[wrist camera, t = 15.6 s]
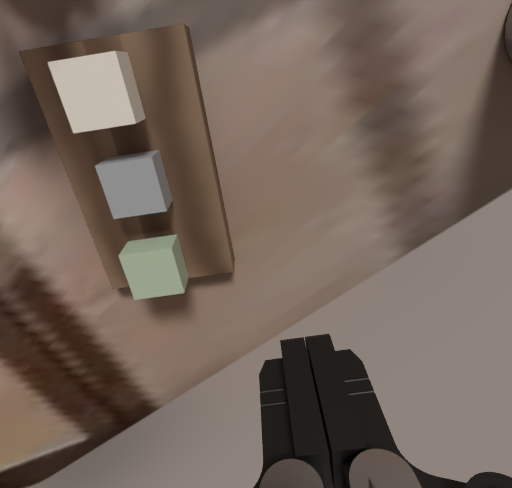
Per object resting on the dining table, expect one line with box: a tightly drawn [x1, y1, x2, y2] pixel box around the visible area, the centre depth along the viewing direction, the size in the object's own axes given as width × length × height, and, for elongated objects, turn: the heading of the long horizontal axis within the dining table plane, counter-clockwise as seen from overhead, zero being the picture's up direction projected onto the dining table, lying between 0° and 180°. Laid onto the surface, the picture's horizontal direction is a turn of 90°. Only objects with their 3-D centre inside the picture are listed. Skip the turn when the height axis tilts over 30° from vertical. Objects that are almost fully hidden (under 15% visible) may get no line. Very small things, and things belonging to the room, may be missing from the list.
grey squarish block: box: [95, 150, 173, 219], centre depth 34 cm, size 5×5×6 cm
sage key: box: [119, 234, 189, 300], centre depth 36 cm, size 5×5×6 cm
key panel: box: [19, 24, 235, 289], centre depth 36 cm, size 14×24×3 cm, turn 8°
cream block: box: [47, 51, 146, 134], centre depth 29 cm, size 5×5×6 cm
